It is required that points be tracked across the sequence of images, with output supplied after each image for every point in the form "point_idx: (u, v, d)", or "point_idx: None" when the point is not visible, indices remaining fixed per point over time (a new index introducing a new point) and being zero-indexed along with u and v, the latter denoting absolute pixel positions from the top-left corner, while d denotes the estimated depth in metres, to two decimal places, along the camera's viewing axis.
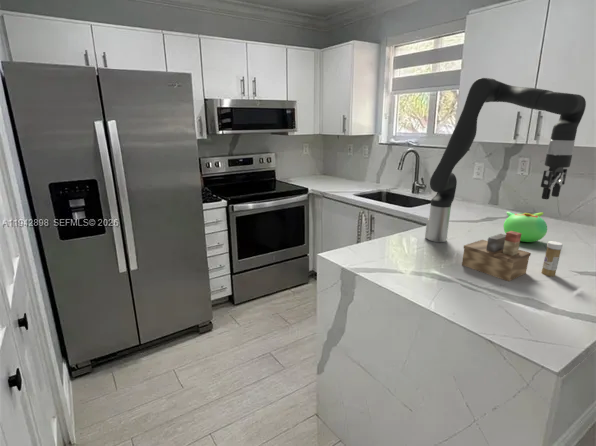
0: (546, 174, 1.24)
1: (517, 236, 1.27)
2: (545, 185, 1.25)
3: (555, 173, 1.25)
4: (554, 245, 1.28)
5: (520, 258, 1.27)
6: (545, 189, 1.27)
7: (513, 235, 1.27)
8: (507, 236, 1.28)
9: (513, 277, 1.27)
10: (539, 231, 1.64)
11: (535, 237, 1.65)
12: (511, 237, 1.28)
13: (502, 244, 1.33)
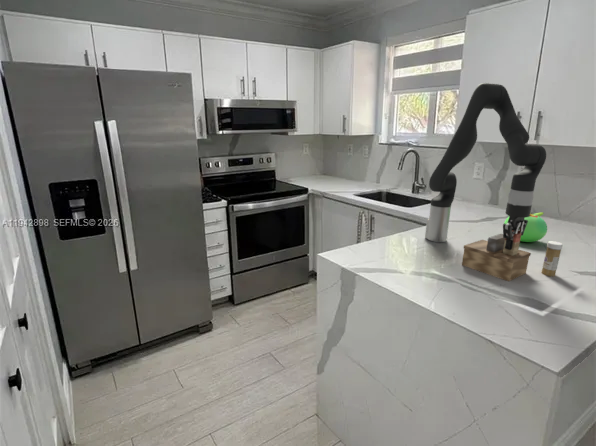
0: (505, 228, 1.24)
1: (517, 236, 1.27)
2: (507, 236, 1.26)
3: (514, 225, 1.25)
4: (554, 245, 1.28)
5: (520, 258, 1.27)
6: (508, 240, 1.27)
7: None
8: None
9: (513, 277, 1.27)
10: (539, 231, 1.64)
11: (535, 237, 1.65)
12: None
13: (502, 244, 1.33)
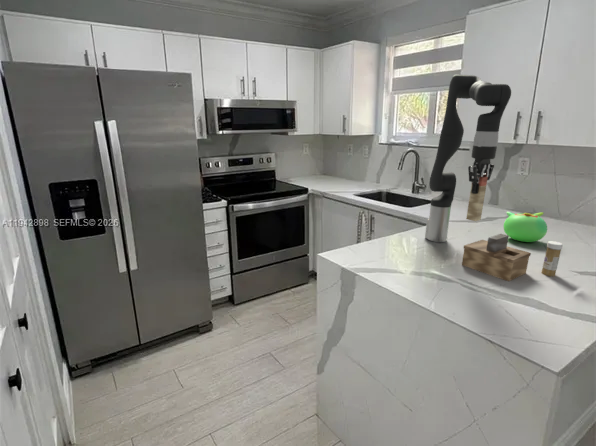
0: (471, 170, 1.23)
1: (483, 179, 1.25)
2: (473, 179, 1.24)
3: (480, 167, 1.24)
4: (554, 245, 1.28)
5: (520, 258, 1.27)
6: (474, 183, 1.26)
7: None
8: None
9: (513, 277, 1.27)
10: (539, 231, 1.64)
11: (535, 237, 1.65)
12: None
13: (502, 244, 1.33)
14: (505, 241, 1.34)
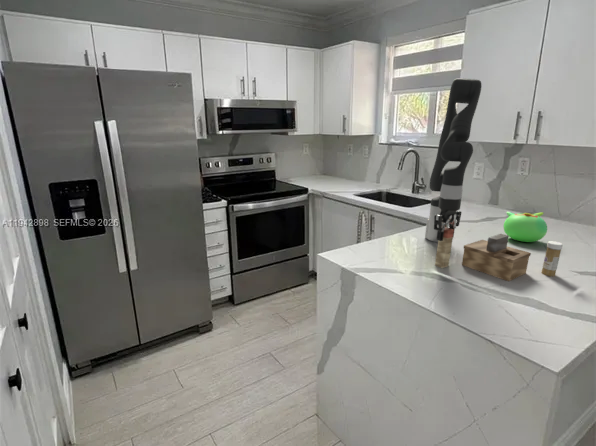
0: (436, 218, 1.30)
1: (449, 232, 1.34)
2: (437, 228, 1.31)
3: (446, 216, 1.31)
4: (554, 245, 1.28)
5: (520, 258, 1.27)
6: (438, 231, 1.33)
7: (445, 231, 1.34)
8: None
9: (513, 277, 1.27)
10: (539, 231, 1.64)
11: (535, 237, 1.65)
12: None
13: (502, 244, 1.33)
14: (505, 241, 1.34)
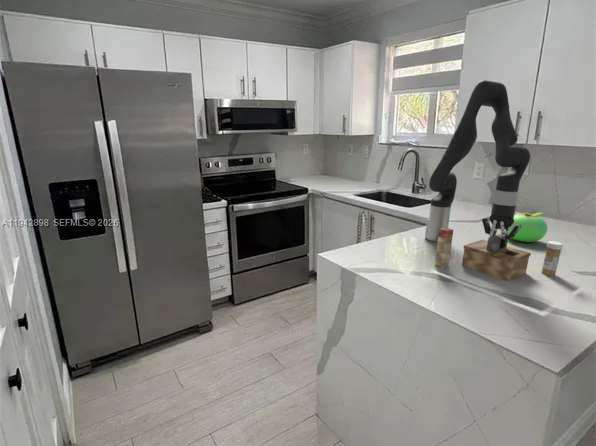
0: None
1: (448, 232, 1.33)
2: None
3: (491, 221, 1.33)
4: (554, 245, 1.28)
5: (520, 258, 1.27)
6: None
7: (445, 231, 1.34)
8: (440, 232, 1.35)
9: (513, 277, 1.27)
10: (539, 231, 1.64)
11: (535, 237, 1.65)
12: (443, 233, 1.35)
13: None
14: None
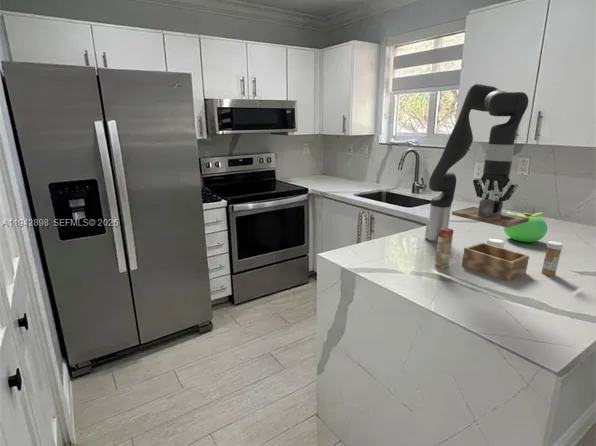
0: None
1: (448, 232, 1.33)
2: None
3: (483, 182, 1.16)
4: (554, 245, 1.28)
5: (516, 223, 1.09)
6: None
7: (445, 231, 1.34)
8: (440, 232, 1.35)
9: (513, 277, 1.27)
10: (539, 231, 1.64)
11: (535, 237, 1.65)
12: (443, 233, 1.35)
13: None
14: None
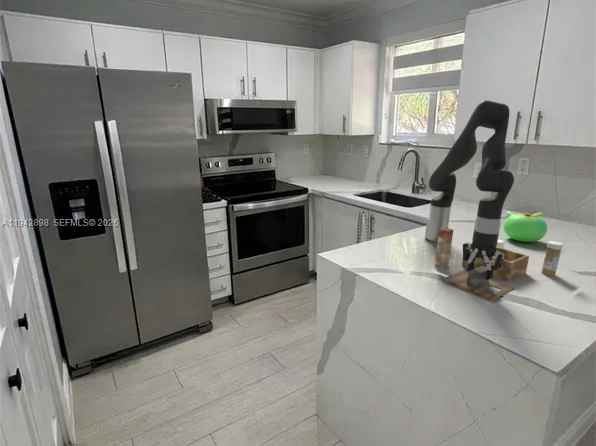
0: None
1: (448, 232, 1.33)
2: None
3: (472, 248, 1.22)
4: (554, 245, 1.28)
5: None
6: None
7: (445, 231, 1.34)
8: (440, 232, 1.35)
9: (513, 277, 1.27)
10: (539, 231, 1.64)
11: (535, 237, 1.65)
12: (443, 233, 1.35)
13: (483, 278, 1.22)
14: None
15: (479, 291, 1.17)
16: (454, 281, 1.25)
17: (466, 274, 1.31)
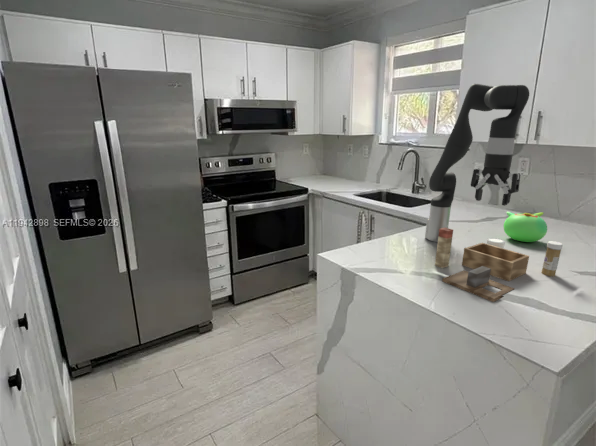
0: None
1: (448, 232, 1.33)
2: None
3: (484, 173, 1.15)
4: (554, 245, 1.28)
5: None
6: None
7: (445, 231, 1.34)
8: (440, 232, 1.35)
9: (513, 277, 1.27)
10: (539, 231, 1.64)
11: (535, 237, 1.65)
12: (443, 233, 1.35)
13: (483, 278, 1.22)
14: (487, 275, 1.23)
15: (479, 291, 1.17)
16: (454, 281, 1.25)
17: (466, 274, 1.31)
